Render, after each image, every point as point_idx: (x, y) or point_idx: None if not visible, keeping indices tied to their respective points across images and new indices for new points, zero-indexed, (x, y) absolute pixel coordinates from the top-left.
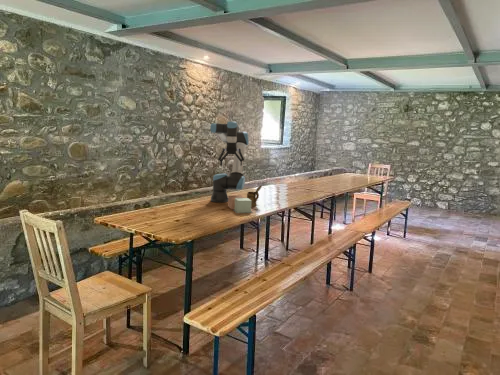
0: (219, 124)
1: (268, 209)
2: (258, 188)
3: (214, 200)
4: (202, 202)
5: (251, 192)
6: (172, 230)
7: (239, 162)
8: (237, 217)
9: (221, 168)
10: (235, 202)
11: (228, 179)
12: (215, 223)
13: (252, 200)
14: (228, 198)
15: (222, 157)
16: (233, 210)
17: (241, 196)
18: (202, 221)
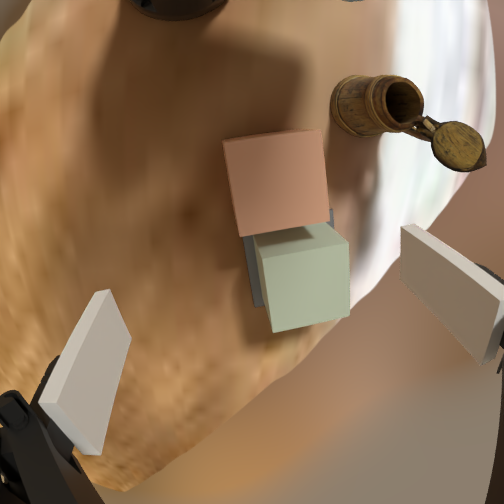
0: None
1: (422, 202)
2: (456, 165)
3: (142, 11)
4: (75, 38)
5: (404, 82)
6: (85, 459)
7: (471, 345)
8: (251, 363)
9: (89, 304)
10: (261, 266)
11: None
12: (172, 426)
13: (381, 132)
14: (223, 144)
15: (29, 492)
16: (245, 251)
17: (319, 168)
18: (127, 410)
